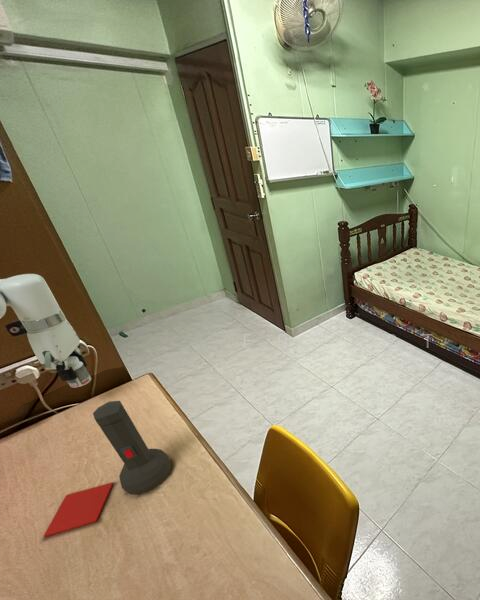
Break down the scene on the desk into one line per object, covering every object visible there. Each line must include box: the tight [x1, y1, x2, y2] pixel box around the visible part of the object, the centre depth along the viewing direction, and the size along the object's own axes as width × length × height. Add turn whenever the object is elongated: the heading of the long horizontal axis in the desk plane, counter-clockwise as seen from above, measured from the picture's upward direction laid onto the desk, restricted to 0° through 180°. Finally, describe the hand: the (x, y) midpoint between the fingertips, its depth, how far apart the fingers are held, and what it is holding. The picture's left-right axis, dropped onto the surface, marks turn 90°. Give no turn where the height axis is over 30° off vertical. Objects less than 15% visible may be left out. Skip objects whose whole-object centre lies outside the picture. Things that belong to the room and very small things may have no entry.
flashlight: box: [92, 400, 172, 495], centre depth 72 cm, size 10×25×10 cm
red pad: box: [43, 482, 114, 538], centre depth 71 cm, size 9×9×1 cm
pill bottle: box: [57, 356, 92, 389], centre depth 91 cm, size 5×5×8 cm
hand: (75, 372), depth 91 cm, fingers closed on pill bottle, 4 cm apart
